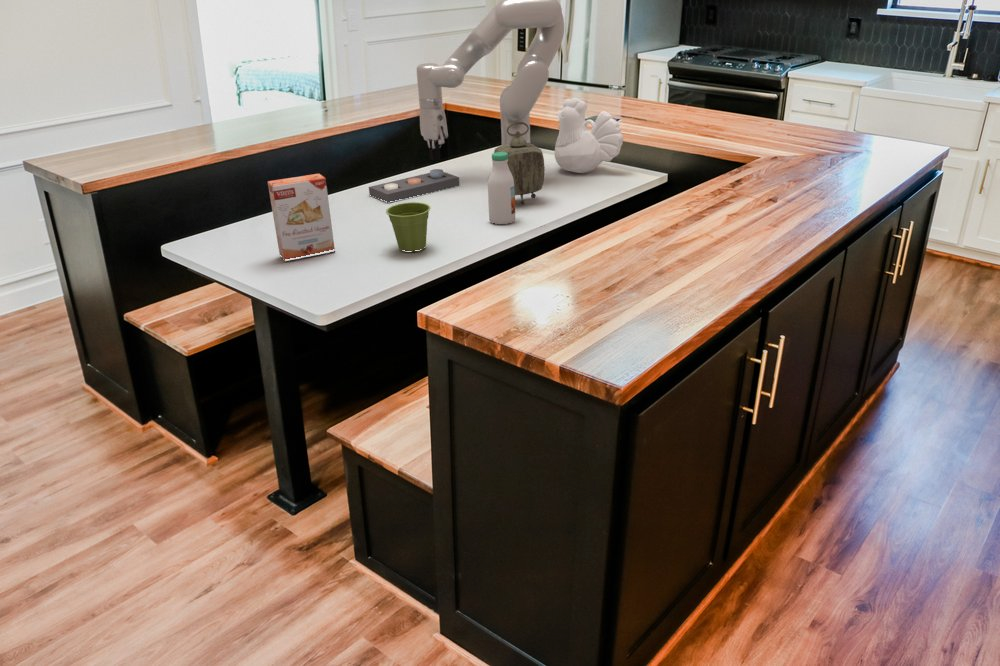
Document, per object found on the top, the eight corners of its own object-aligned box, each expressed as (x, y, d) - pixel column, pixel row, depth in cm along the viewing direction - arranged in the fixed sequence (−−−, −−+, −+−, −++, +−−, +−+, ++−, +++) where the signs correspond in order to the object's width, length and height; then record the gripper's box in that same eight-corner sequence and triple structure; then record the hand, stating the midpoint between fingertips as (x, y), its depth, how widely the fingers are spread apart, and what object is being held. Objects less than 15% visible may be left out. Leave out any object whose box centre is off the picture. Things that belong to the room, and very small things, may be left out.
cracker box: (285, 263, 208) (271, 185, 198) (279, 256, 212) (266, 180, 203) (336, 253, 213) (325, 177, 204) (330, 246, 218) (319, 172, 209)
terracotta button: (424, 188, 263) (423, 179, 262) (413, 191, 261) (412, 182, 260) (417, 185, 266) (416, 177, 265) (405, 188, 264) (405, 179, 263)
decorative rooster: (545, 171, 279) (544, 99, 268) (575, 162, 289) (575, 92, 278) (599, 183, 263) (600, 107, 252) (629, 173, 272) (631, 100, 261)
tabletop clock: (537, 196, 253) (535, 117, 241) (547, 204, 245) (546, 122, 234) (494, 202, 249) (490, 121, 238) (502, 210, 241) (499, 127, 230)
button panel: (459, 185, 267) (459, 177, 266) (388, 203, 252) (387, 194, 251) (439, 179, 276) (439, 170, 274) (369, 195, 261) (368, 186, 259)
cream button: (401, 194, 258) (400, 185, 257) (389, 196, 256) (388, 187, 255) (394, 191, 262) (393, 182, 260) (382, 194, 259) (381, 185, 258)
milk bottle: (506, 226, 227) (504, 157, 218) (484, 223, 231) (480, 155, 222) (520, 219, 233) (518, 151, 224) (498, 215, 236) (495, 149, 227)
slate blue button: (446, 179, 268) (445, 170, 266) (435, 182, 265) (434, 173, 264) (438, 177, 271) (438, 168, 269) (428, 179, 268) (427, 170, 267)
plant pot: (395, 241, 220) (391, 202, 215) (437, 241, 218) (434, 201, 213) (385, 256, 209) (381, 216, 204) (429, 256, 208) (426, 215, 203)
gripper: (453, 104, 253) (457, 161, 261) (427, 99, 264) (432, 153, 272) (434, 108, 249) (438, 165, 257) (408, 102, 260) (414, 157, 268)
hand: (435, 159), depth 265 cm, fingers closed
